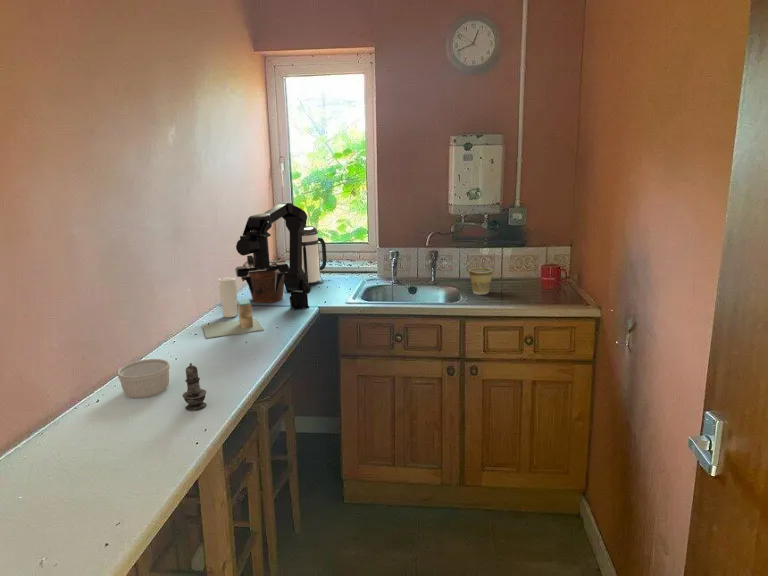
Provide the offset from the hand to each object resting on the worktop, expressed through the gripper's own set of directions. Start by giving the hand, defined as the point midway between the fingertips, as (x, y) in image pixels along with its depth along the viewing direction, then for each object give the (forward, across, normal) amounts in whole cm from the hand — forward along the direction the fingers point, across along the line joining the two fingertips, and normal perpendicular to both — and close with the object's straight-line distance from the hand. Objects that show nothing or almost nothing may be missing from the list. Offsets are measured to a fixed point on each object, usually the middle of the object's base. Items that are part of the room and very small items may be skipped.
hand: (264, 292), depth 219 cm
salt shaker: (+12, +29, +66) cm, 73 cm away
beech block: (+12, +8, 0) cm, 14 cm away
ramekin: (+12, +41, +49) cm, 65 cm away
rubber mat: (+12, +13, 0) cm, 17 cm away
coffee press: (+12, -30, -58) cm, 66 cm away
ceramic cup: (+12, -93, -3) cm, 94 cm away
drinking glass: (+12, +12, -16) cm, 24 cm away
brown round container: (+12, -6, -37) cm, 39 cm away
